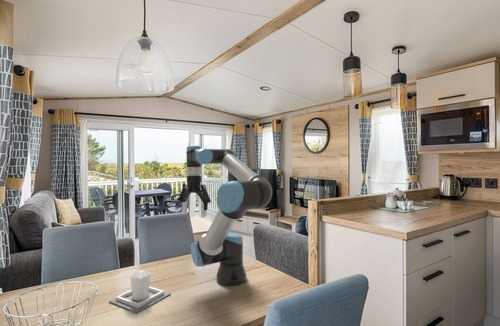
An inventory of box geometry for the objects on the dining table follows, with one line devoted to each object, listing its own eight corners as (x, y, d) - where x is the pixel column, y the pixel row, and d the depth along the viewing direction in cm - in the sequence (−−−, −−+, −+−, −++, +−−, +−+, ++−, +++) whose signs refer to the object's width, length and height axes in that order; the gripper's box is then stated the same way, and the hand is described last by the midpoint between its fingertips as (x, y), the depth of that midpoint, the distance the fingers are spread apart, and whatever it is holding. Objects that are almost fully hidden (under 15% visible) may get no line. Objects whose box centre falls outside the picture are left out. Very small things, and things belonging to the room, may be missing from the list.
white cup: (131, 303, 118) (131, 279, 118) (130, 295, 125) (130, 272, 125) (151, 298, 122) (151, 275, 122) (148, 291, 129) (148, 269, 129)
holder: (170, 294, 127) (170, 290, 127) (136, 313, 111) (136, 308, 111) (143, 286, 136) (143, 281, 136) (108, 302, 120) (108, 297, 120)
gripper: (171, 174, 151) (171, 214, 151) (208, 175, 138) (208, 218, 139) (181, 174, 157) (181, 212, 157) (217, 175, 145) (217, 216, 145)
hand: (194, 215), depth 148 cm, fingers open, 13 cm apart
